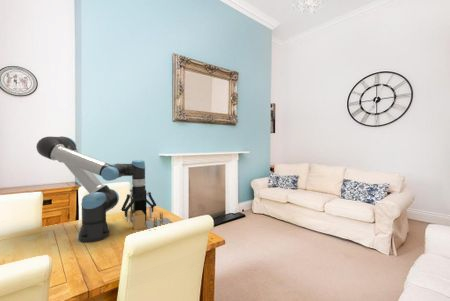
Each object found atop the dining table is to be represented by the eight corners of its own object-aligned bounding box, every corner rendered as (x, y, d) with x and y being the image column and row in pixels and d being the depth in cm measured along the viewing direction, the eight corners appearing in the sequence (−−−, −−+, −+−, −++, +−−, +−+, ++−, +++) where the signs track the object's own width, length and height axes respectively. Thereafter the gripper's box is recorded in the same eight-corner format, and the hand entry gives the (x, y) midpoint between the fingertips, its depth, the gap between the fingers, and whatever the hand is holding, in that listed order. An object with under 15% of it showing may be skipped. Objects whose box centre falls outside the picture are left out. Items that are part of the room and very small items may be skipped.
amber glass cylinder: (154, 226, 143) (154, 218, 143) (153, 225, 145) (153, 217, 144) (157, 225, 144) (157, 217, 144) (156, 224, 146) (156, 216, 146)
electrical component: (129, 214, 167) (129, 187, 166) (144, 213, 171) (144, 186, 170) (131, 222, 151) (131, 192, 150) (147, 220, 155) (147, 191, 154)
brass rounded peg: (160, 221, 152) (160, 213, 152) (159, 220, 154) (159, 212, 154) (163, 220, 153) (163, 213, 153) (162, 219, 155) (162, 212, 155)
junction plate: (149, 230, 138) (149, 229, 138) (143, 223, 150) (143, 222, 150) (174, 225, 147) (174, 224, 147) (167, 218, 159) (167, 217, 159)
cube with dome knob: (134, 230, 139) (134, 213, 138) (132, 226, 144) (132, 210, 143) (145, 228, 142) (145, 212, 142) (142, 225, 147) (142, 209, 147)
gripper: (117, 188, 132) (118, 225, 133) (161, 184, 145) (161, 217, 146) (115, 186, 138) (116, 221, 139) (157, 182, 152) (157, 214, 153)
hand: (139, 219), depth 143 cm, fingers open, 13 cm apart
